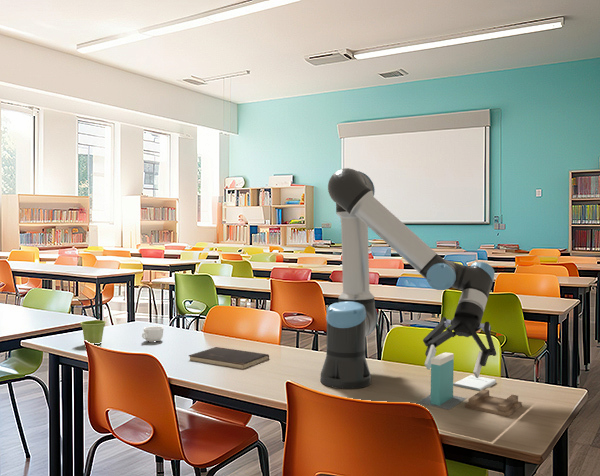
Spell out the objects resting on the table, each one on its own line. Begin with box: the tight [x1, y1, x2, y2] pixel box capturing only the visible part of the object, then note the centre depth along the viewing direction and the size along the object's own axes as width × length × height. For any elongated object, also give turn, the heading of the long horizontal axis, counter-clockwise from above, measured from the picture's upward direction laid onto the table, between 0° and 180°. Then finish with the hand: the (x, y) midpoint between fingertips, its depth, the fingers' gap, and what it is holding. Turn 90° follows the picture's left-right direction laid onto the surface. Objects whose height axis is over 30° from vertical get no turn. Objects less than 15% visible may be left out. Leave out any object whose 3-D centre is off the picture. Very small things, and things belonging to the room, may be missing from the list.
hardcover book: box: [188, 346, 270, 370], centre depth 193 cm, size 16×23×2 cm
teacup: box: [141, 325, 164, 343], centre depth 221 cm, size 10×8×5 cm
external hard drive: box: [453, 374, 497, 392], centre depth 164 cm, size 2×8×12 cm
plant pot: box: [80, 319, 107, 344], centre depth 216 cm, size 9×9×9 cm
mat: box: [416, 394, 468, 410], centre depth 148 cm, size 12×9×1 cm
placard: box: [430, 352, 455, 406], centre depth 148 cm, size 9×2×12 cm, turn 142°
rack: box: [464, 388, 523, 417], centre depth 144 cm, size 11×11×3 cm
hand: (450, 371), depth 149 cm, fingers open, 13 cm apart
